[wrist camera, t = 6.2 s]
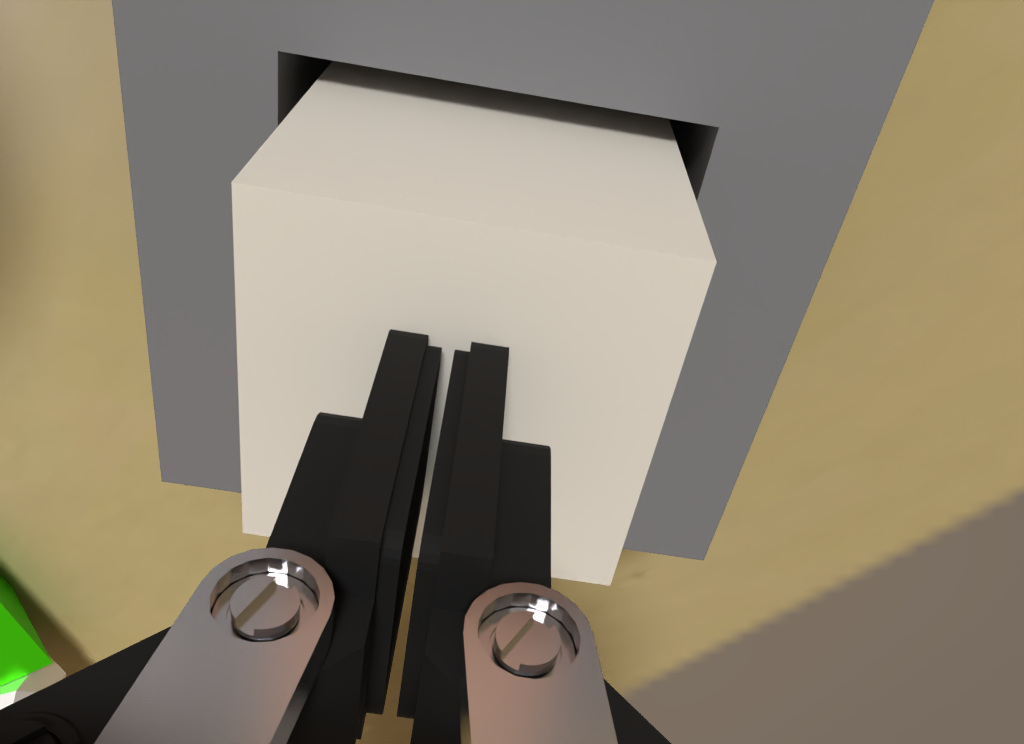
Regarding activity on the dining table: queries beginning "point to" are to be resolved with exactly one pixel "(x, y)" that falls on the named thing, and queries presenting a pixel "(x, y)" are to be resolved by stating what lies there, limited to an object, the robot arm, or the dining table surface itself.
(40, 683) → the green triangular piece
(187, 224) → the key panel
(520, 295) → the cream key
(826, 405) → the dining table surface
